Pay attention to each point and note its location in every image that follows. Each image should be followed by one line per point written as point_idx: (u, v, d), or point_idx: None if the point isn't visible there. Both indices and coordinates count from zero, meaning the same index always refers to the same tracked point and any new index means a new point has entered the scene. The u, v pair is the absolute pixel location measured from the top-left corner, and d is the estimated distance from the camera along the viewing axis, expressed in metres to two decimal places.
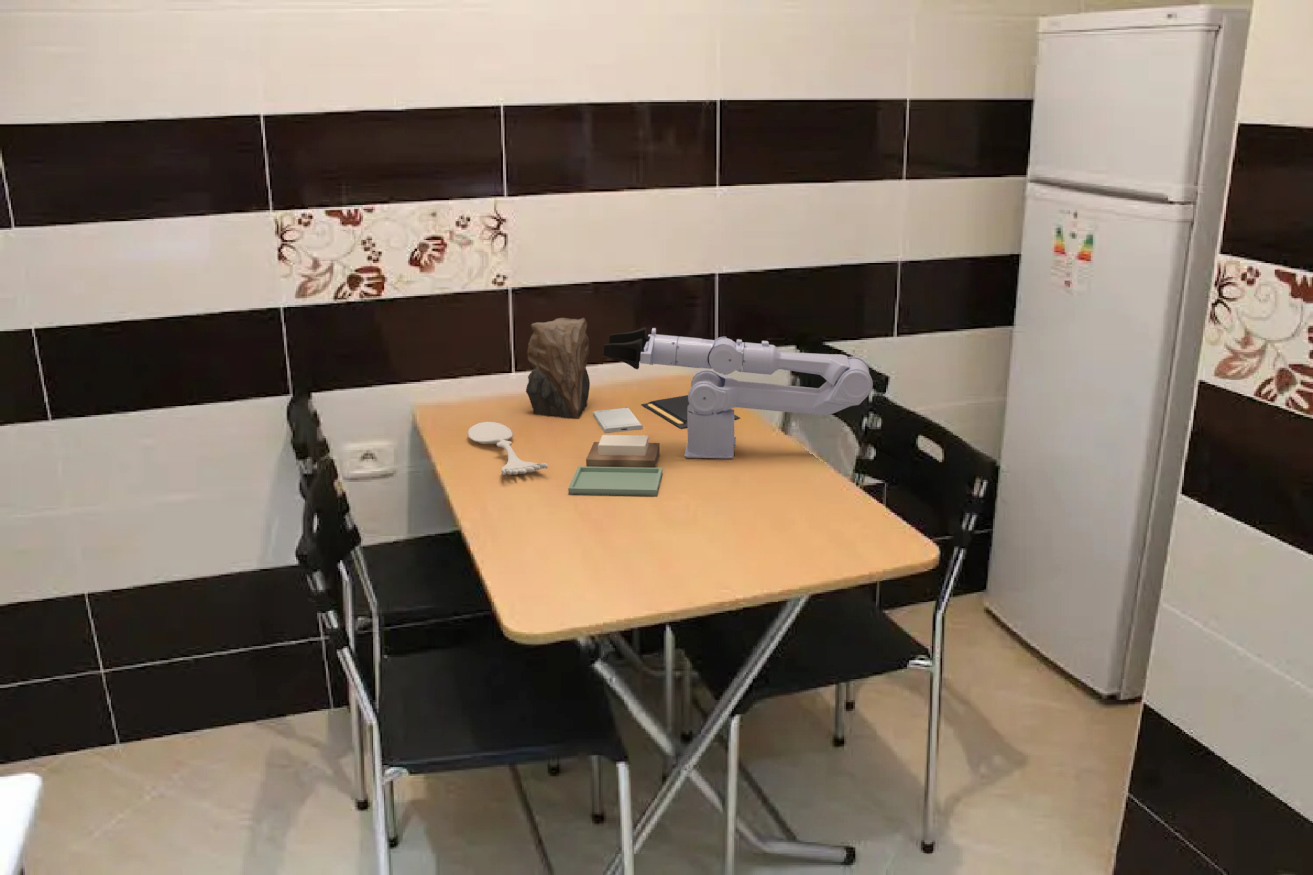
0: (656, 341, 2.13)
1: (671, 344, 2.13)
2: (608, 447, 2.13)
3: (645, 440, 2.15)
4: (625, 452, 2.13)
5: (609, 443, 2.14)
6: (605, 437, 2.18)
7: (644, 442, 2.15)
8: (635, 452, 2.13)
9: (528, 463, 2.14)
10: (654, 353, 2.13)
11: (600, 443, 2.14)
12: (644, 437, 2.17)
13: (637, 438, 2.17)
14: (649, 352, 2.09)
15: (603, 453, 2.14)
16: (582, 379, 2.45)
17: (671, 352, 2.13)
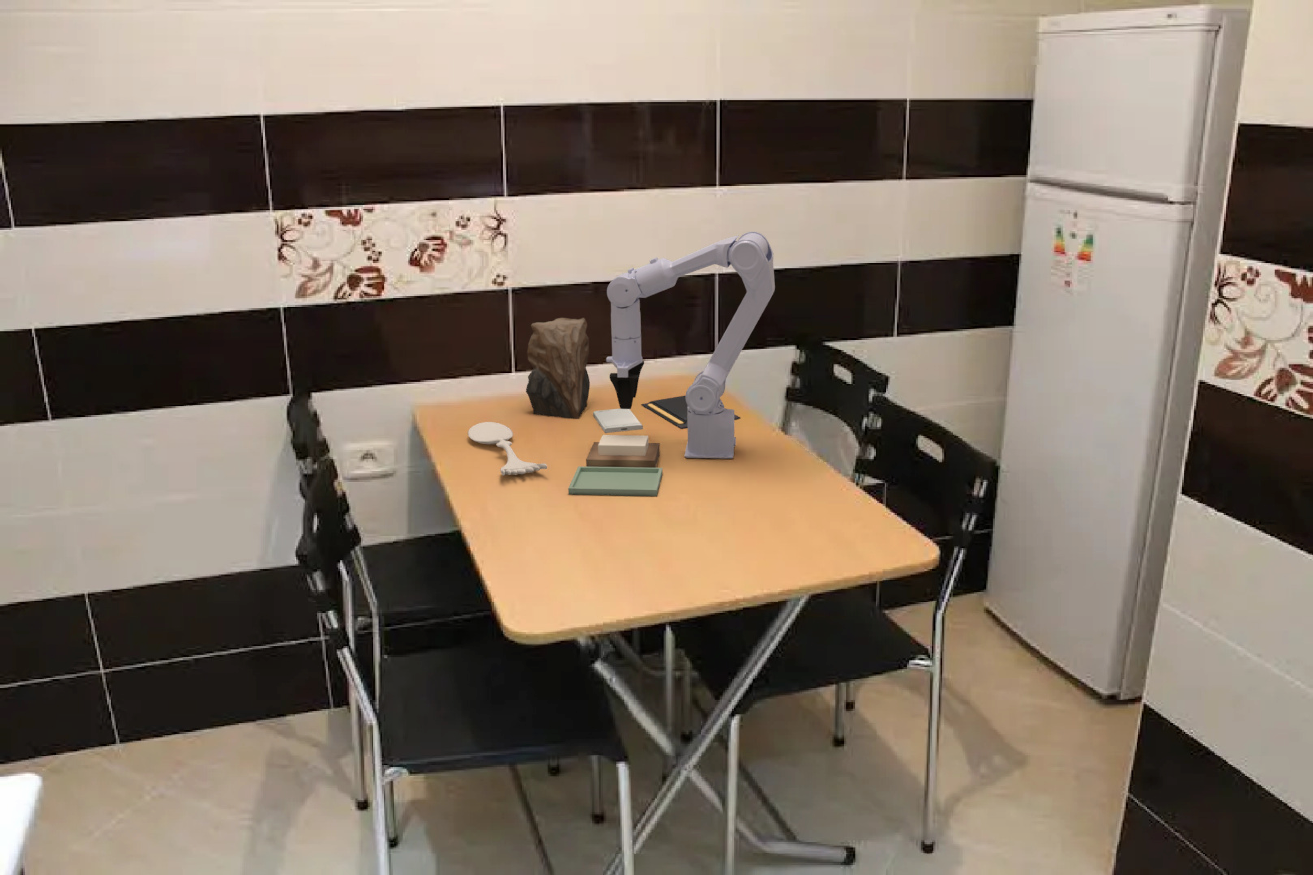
0: (614, 357, 2.17)
1: (615, 343, 2.16)
2: (608, 447, 2.13)
3: (645, 440, 2.15)
4: (625, 452, 2.13)
5: (609, 443, 2.14)
6: (605, 437, 2.18)
7: (644, 442, 2.15)
8: (635, 452, 2.13)
9: (528, 463, 2.14)
10: (625, 360, 2.16)
11: (600, 443, 2.14)
12: (644, 437, 2.17)
13: (637, 438, 2.17)
14: (617, 368, 2.13)
15: (603, 453, 2.14)
16: (582, 379, 2.45)
17: (622, 343, 2.15)
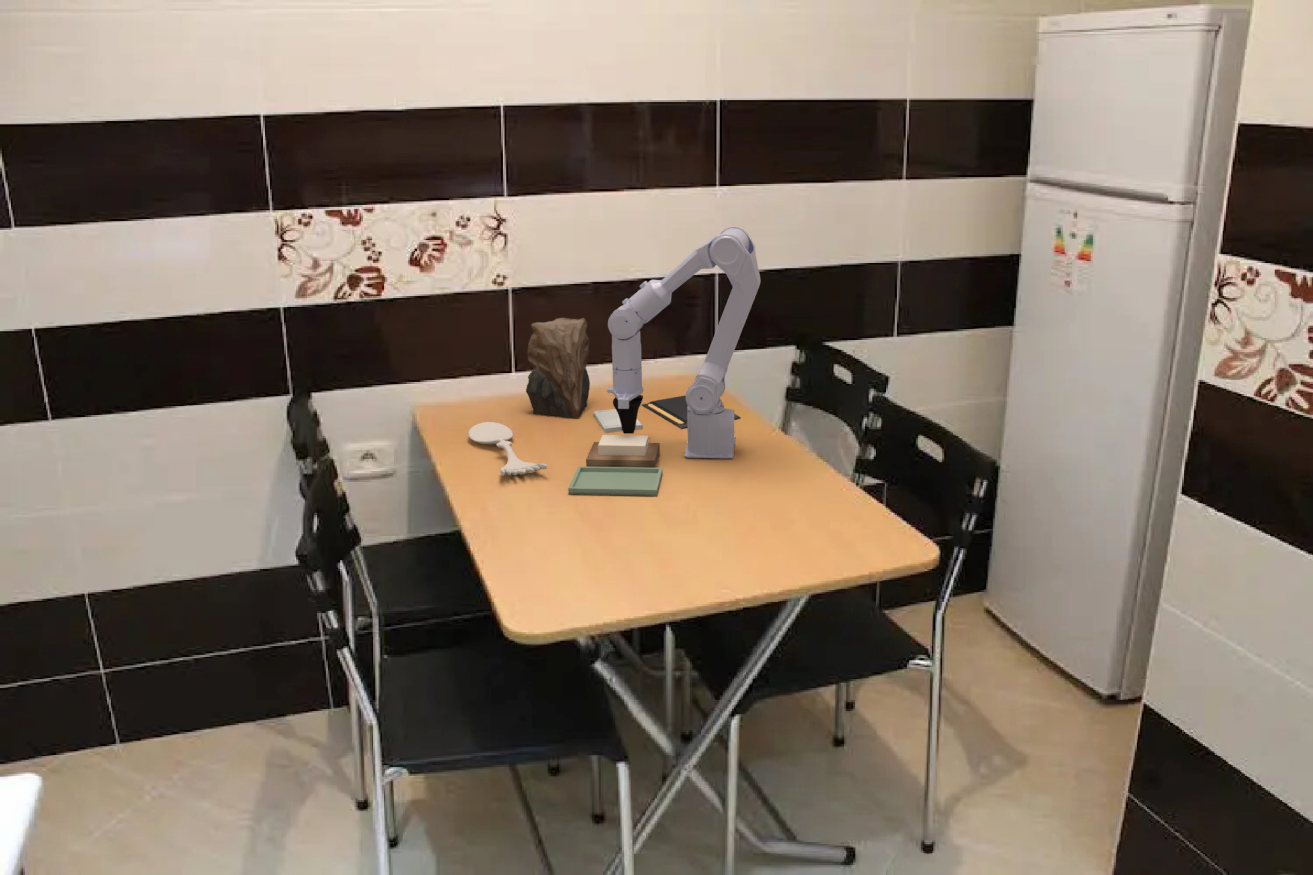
0: (615, 388, 2.19)
1: (616, 374, 2.18)
2: (608, 447, 2.13)
3: (645, 440, 2.15)
4: (625, 452, 2.13)
5: (609, 443, 2.14)
6: (605, 437, 2.18)
7: (644, 442, 2.15)
8: (635, 452, 2.13)
9: (528, 463, 2.14)
10: (626, 391, 2.18)
11: (600, 443, 2.14)
12: (644, 437, 2.17)
13: (637, 438, 2.17)
14: (618, 399, 2.15)
15: (603, 453, 2.14)
16: (582, 379, 2.45)
17: (623, 375, 2.17)
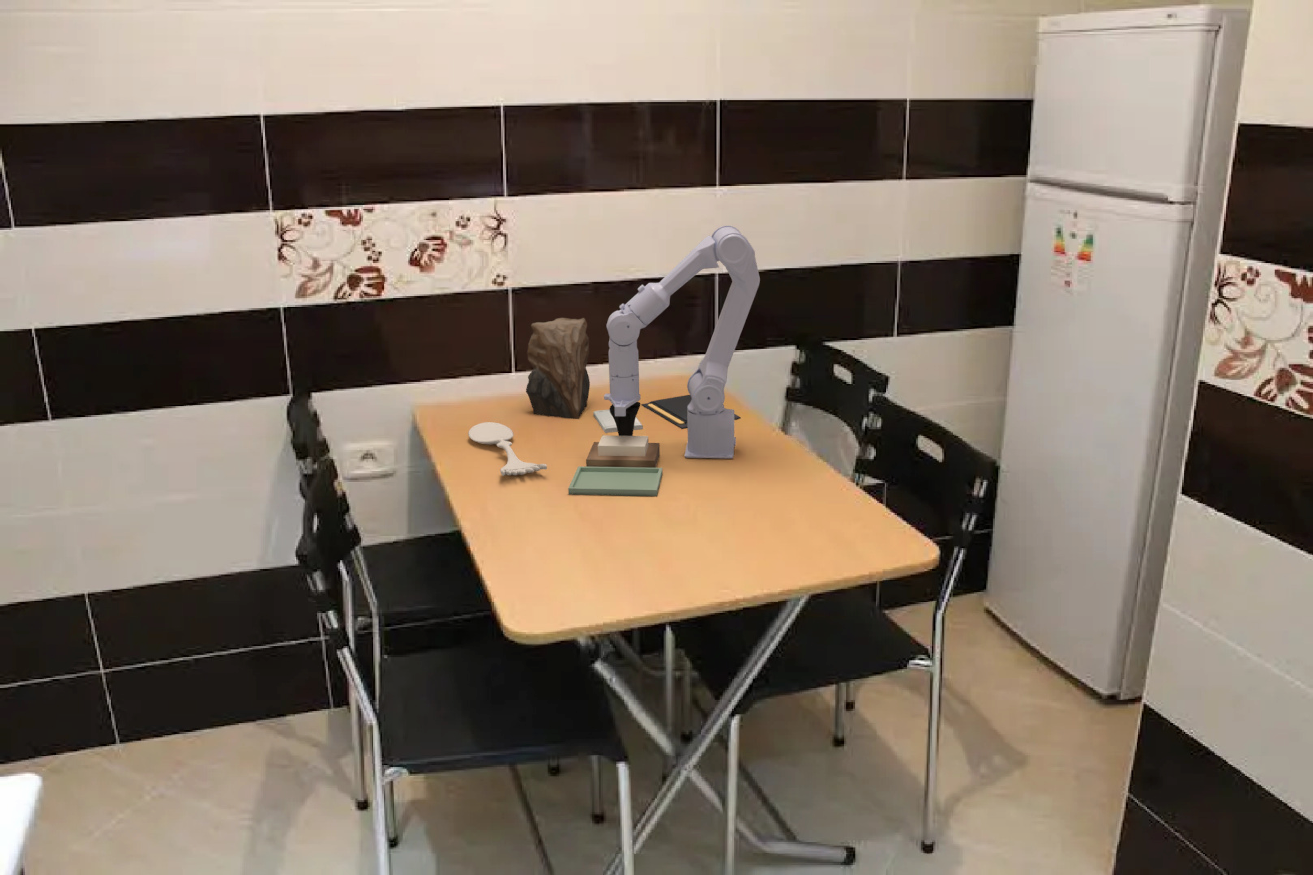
0: (612, 395, 2.15)
1: (613, 381, 2.14)
2: (608, 447, 2.13)
3: (645, 440, 2.15)
4: (625, 452, 2.13)
5: (609, 443, 2.14)
6: (604, 437, 2.17)
7: (644, 442, 2.14)
8: (635, 453, 2.13)
9: (528, 464, 2.14)
10: (623, 398, 2.14)
11: (600, 443, 2.14)
12: (644, 437, 2.17)
13: (637, 438, 2.17)
14: (614, 407, 2.11)
15: (603, 453, 2.14)
16: (582, 379, 2.45)
17: (620, 381, 2.13)
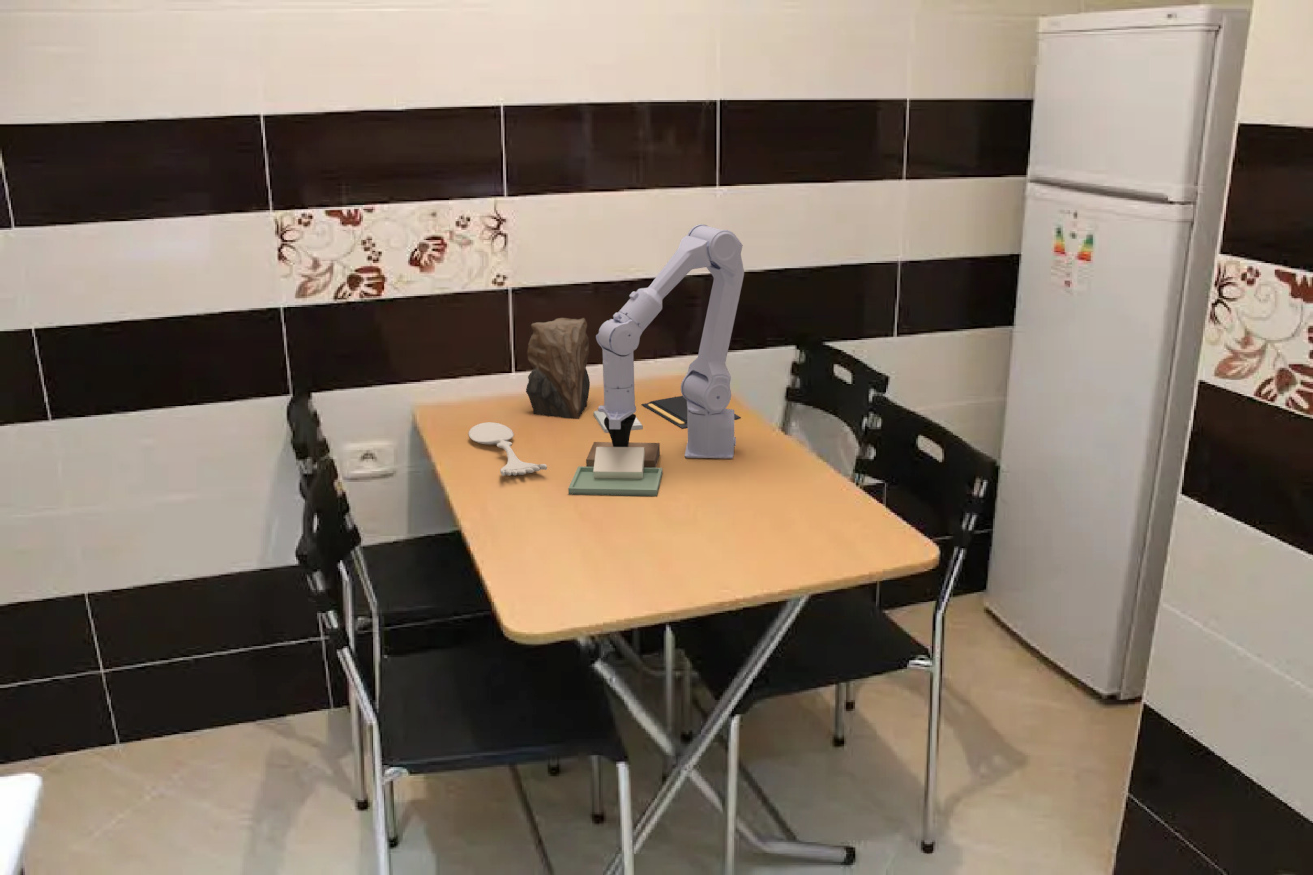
0: (607, 407, 2.08)
1: (607, 393, 2.07)
2: (604, 472, 2.07)
3: (641, 459, 2.08)
4: (621, 476, 2.07)
5: (604, 466, 2.07)
6: (599, 452, 2.10)
7: (640, 462, 2.08)
8: (632, 476, 2.07)
9: (528, 464, 2.13)
10: (617, 410, 2.07)
11: (595, 467, 2.07)
12: (640, 451, 2.09)
13: (633, 453, 2.09)
14: (609, 419, 2.04)
15: (599, 477, 2.08)
16: (582, 379, 2.45)
17: (614, 393, 2.06)
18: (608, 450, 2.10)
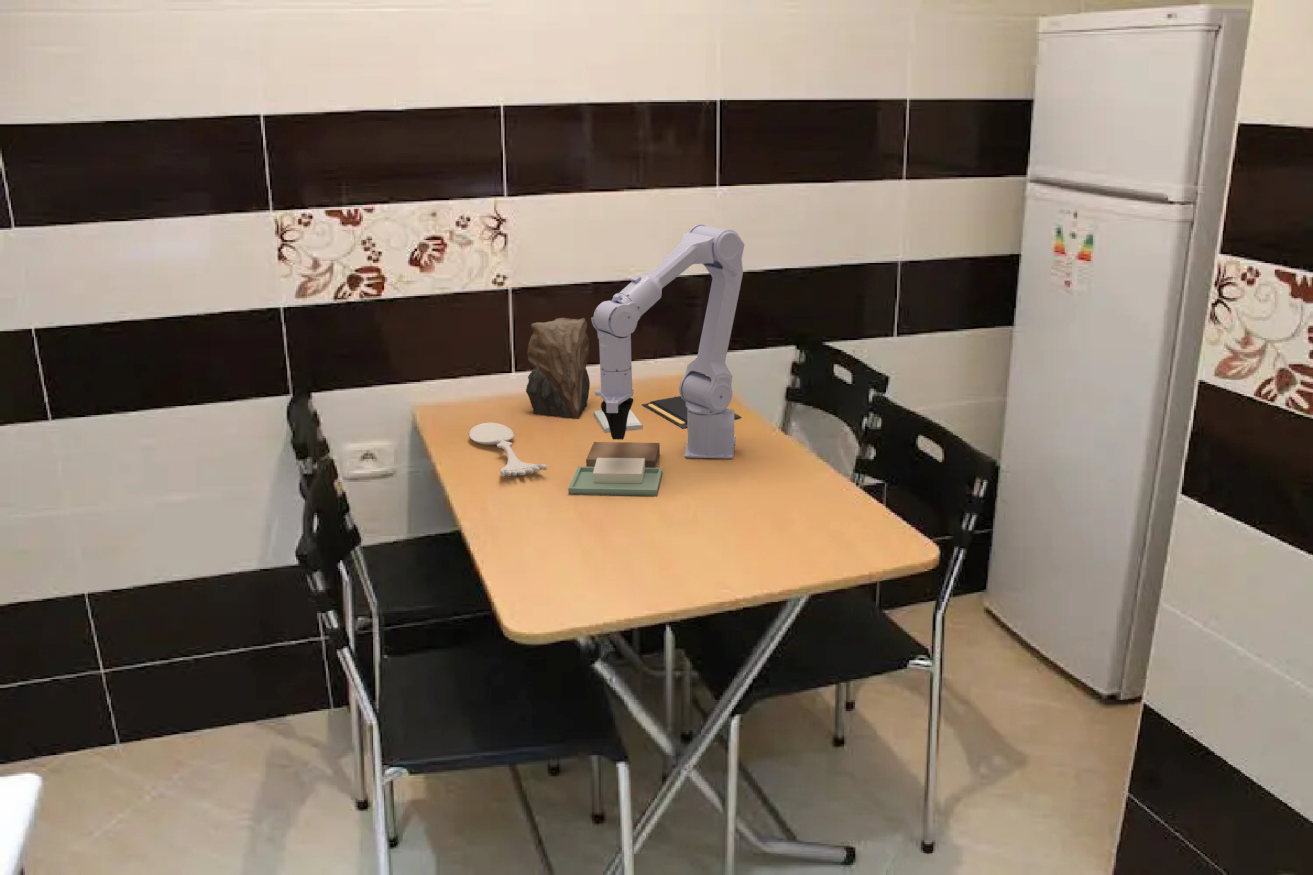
0: (603, 391, 2.03)
1: (604, 376, 2.02)
2: (603, 475, 2.05)
3: (641, 465, 2.07)
4: (621, 480, 2.05)
5: (604, 469, 2.06)
6: (599, 461, 2.09)
7: (640, 468, 2.06)
8: (632, 480, 2.05)
9: (528, 464, 2.13)
10: (615, 393, 2.02)
11: (595, 470, 2.06)
12: (640, 461, 2.09)
13: (633, 462, 2.09)
14: (606, 403, 1.99)
15: (598, 481, 2.06)
16: (582, 379, 2.45)
17: (611, 376, 2.01)
18: (609, 460, 2.10)
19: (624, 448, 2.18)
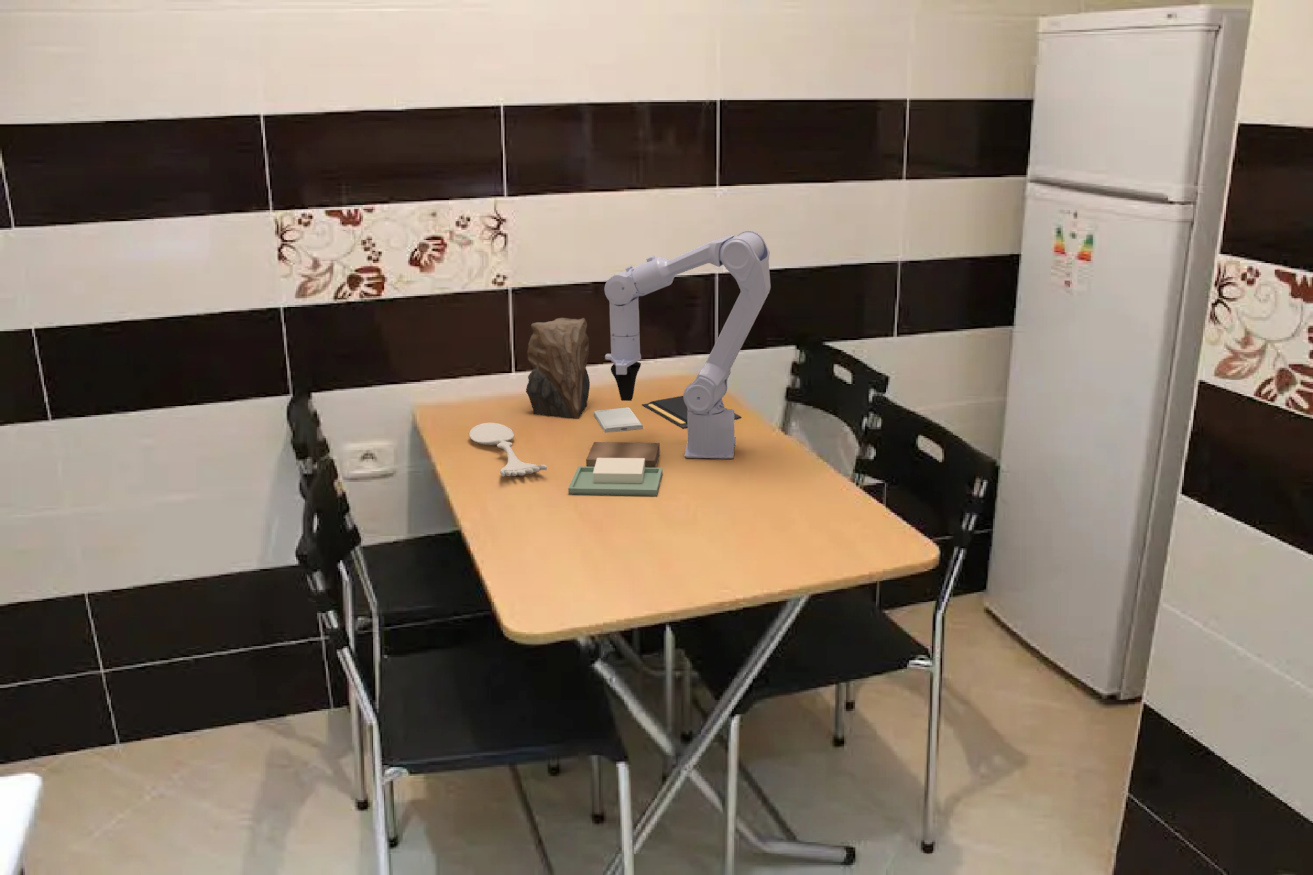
0: (613, 355, 2.19)
1: (614, 341, 2.18)
2: (603, 475, 2.05)
3: (641, 465, 2.07)
4: (621, 480, 2.05)
5: (604, 469, 2.06)
6: (599, 461, 2.09)
7: (640, 468, 2.06)
8: (632, 480, 2.05)
9: (528, 464, 2.13)
10: (624, 357, 2.18)
11: (595, 470, 2.06)
12: (640, 461, 2.09)
13: (633, 462, 2.09)
14: (616, 365, 2.15)
15: (598, 481, 2.06)
16: (582, 379, 2.45)
17: (621, 341, 2.17)
18: (609, 460, 2.10)
19: (624, 448, 2.18)
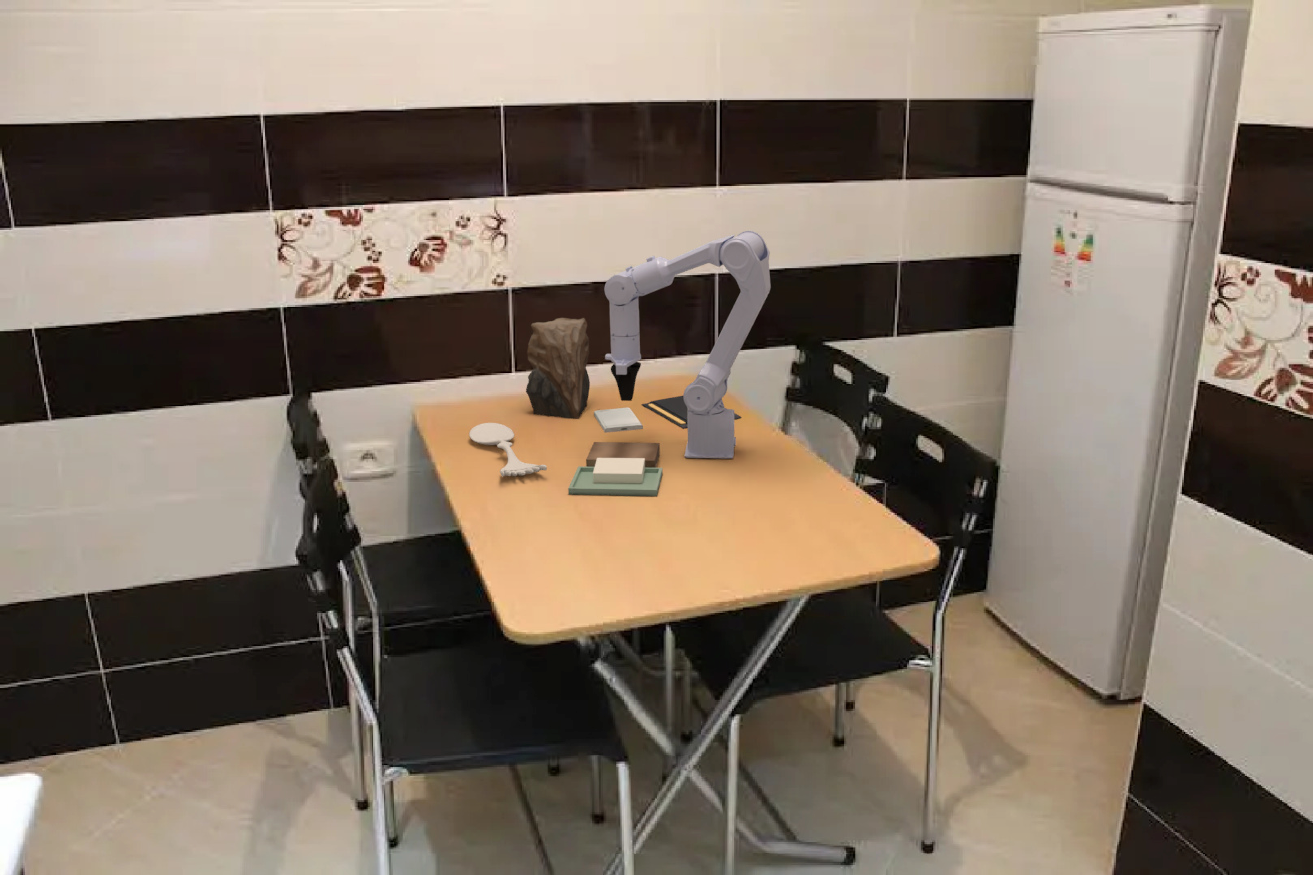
0: (613, 355, 2.19)
1: (614, 341, 2.18)
2: (603, 475, 2.05)
3: (641, 465, 2.07)
4: (621, 480, 2.05)
5: (604, 469, 2.06)
6: (599, 461, 2.09)
7: (640, 468, 2.06)
8: (632, 480, 2.05)
9: (528, 464, 2.13)
10: (624, 357, 2.18)
11: (595, 470, 2.06)
12: (640, 461, 2.09)
13: (633, 462, 2.09)
14: (616, 365, 2.15)
15: (598, 481, 2.06)
16: (582, 379, 2.45)
17: (621, 341, 2.17)
18: (609, 460, 2.10)
19: (624, 448, 2.18)
